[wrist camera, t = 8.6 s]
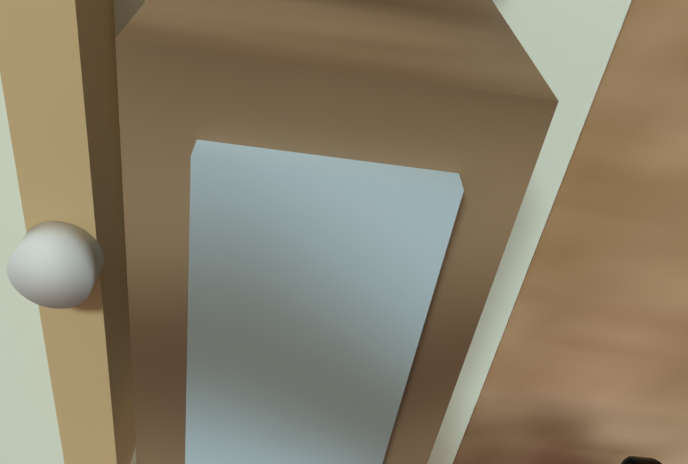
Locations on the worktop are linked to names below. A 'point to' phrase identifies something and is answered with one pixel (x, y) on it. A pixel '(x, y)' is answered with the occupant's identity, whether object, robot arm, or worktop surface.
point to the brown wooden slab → (314, 218)
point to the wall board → (109, 230)
